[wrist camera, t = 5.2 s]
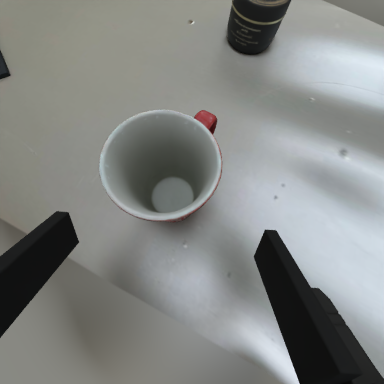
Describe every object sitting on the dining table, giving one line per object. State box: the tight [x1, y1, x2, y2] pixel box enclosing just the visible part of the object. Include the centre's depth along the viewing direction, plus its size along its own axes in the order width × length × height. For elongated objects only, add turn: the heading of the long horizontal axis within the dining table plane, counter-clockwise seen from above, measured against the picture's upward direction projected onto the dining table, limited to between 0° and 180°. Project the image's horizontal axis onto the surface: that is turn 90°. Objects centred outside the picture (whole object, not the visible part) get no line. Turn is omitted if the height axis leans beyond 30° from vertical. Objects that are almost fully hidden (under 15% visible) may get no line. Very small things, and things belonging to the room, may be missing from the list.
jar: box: [228, 0, 291, 54], centre depth 31 cm, size 10×10×8 cm
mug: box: [99, 110, 222, 222], centre depth 19 cm, size 13×9×14 cm
